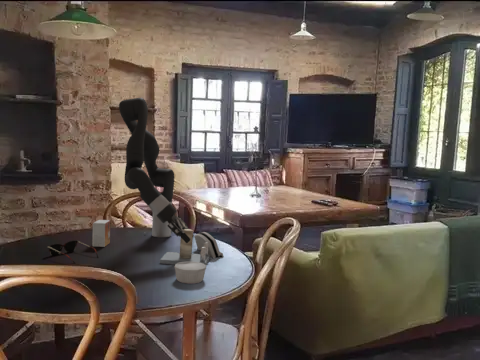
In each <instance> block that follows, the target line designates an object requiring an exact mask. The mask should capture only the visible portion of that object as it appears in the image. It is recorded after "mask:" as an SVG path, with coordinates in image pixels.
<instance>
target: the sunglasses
mask: <svg viewBox="0 0 480 360" xmlns="http://www.w3.org/2000/svg"><path fill="white" fill-rule="evenodd" d="M78 244H82V245H84V246H87V247H88V248H91V249H93V250H94V252H95V255H96V258H97V259H99V255H98V251H97V249H96V248H95V247H94V246H90V245H88V244H86V243H84V242H82V241H79V240H76V239H75V240H73V239H72V240H69V241H66V242H65V243H64V244H62V243H52V244H50V245H48V246H47V249H48V252H49V254H50V256H55V255H59V254H61V255H64V256H66V257H67V258H69V260H71V261H72V263H73V264H77V262H76V261H75V260H73V259H72V258H71V257H70V256H69V255H68V254H67V253H70V252H71V253H72V252H74V251H75V250H76V247H77V245H78ZM63 249H64V251H65V252H66V253H64V252H62V250H63Z"/></svg>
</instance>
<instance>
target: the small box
mask: <svg viewBox="0 0 480 360" xmlns="http://www.w3.org/2000/svg"><path fill="white" fill-rule="evenodd" d="M91 239H92V243H91V244H92V246H91V247H101V248H105V247H107V246H108V245H109V244H110V243H111V242H110V240H111V220H109V219H98V220H96V221H94V222H93V223H92V238H91Z"/></svg>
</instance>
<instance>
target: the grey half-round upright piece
mask: <svg viewBox="0 0 480 360" xmlns="http://www.w3.org/2000/svg"><path fill="white" fill-rule="evenodd" d="M194 240H195V243H196V244H195V245H196V247H197V250H199V251H200V250H201V247H204V242H208V243H209V247H208V255H210V257H211V258H213V259H216V257H222V258H224V254H223V252H221V251H220V248H219V246H218V242H217V240H216V239H215V238H214V237H213V236H212V235H211V234H210V233H208V232H205V231H202V232H199V233H197V234H195V235H194Z"/></svg>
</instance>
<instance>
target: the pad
mask: <svg viewBox="0 0 480 360" xmlns="http://www.w3.org/2000/svg"><path fill="white" fill-rule="evenodd" d="M208 247H209V243H208V242H204V247H201V251H200V250H199V251H200V252H199V253H192V257H191V258H189V259H184V258H180V252H176V251H175V252H172V251H167V252H165V253H164V254H163V256H161V258H160V259H159V264H163V265H164V264H165V265H166V264H167V265H175V264H177V263H180V262H199V263H203V264H205V265H206V266H207V265H208V263H209V261H210V255H208Z"/></svg>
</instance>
